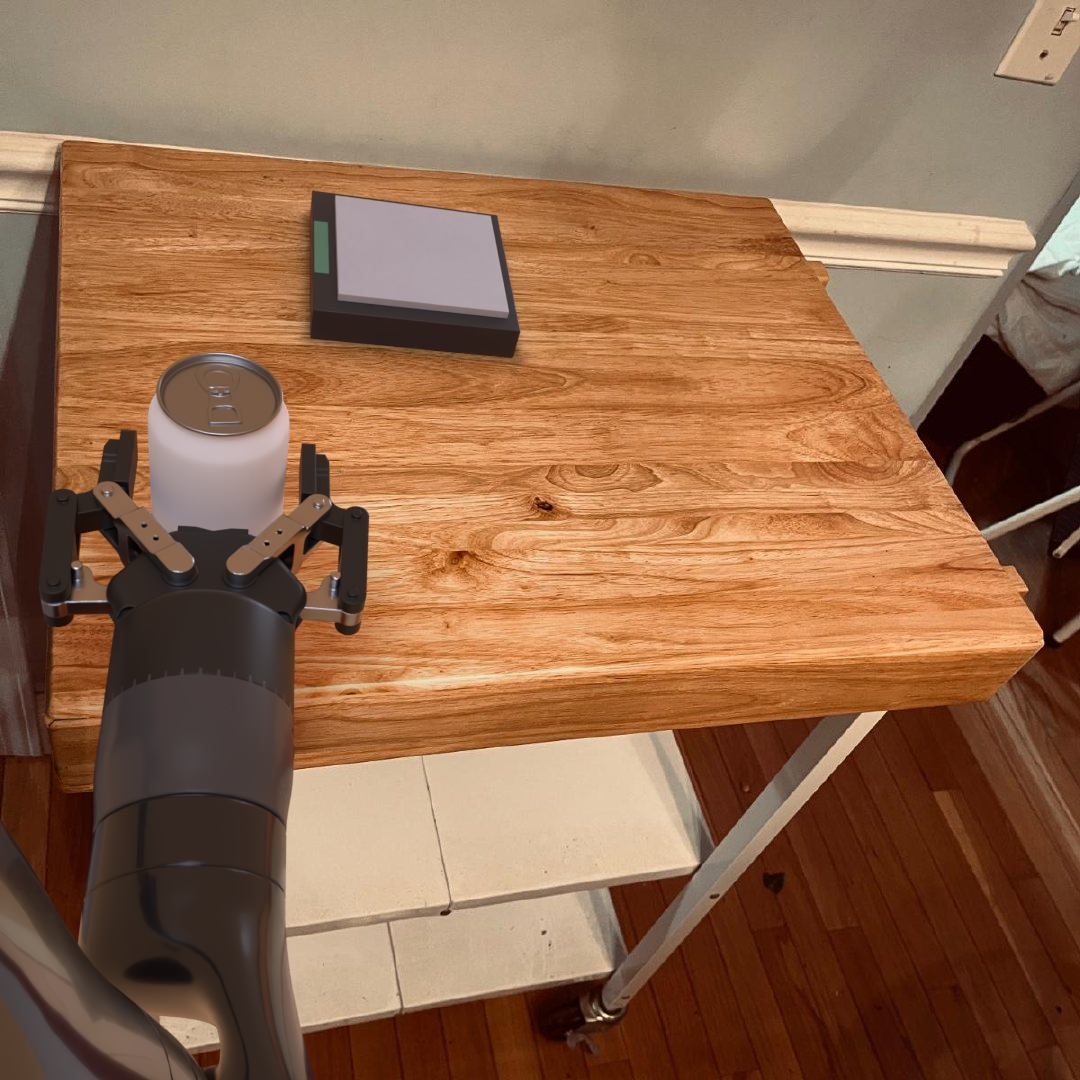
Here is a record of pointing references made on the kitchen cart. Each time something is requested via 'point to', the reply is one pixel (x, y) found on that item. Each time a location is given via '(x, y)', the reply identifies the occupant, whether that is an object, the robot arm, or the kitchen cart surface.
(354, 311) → the scale
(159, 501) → the can
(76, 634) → the kitchen cart surface
